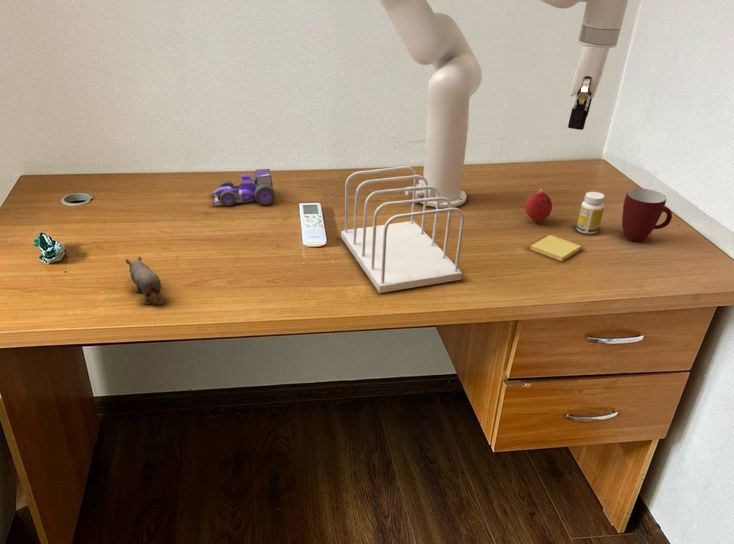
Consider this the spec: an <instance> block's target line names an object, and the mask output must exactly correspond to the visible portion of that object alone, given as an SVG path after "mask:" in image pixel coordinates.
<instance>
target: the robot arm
mask: <svg viewBox="0 0 734 544" xmlns="http://www.w3.org/2000/svg"><path fill="white" fill-rule="evenodd" d="M539 1H540V2H543V3H545V4H546V5H549V6H551V7H554V8H557V9H563V10H564V9H569V8H572V7H574V6H576V5H577V4H579V3H585V8H584V11H583V12H584V13H583V18H582V21H581V26H580V29H579V35H578V39H577V43H578V44H579V45H581V48H580V52H579V55H578V58H577V63H576V67H575V72H574V76H573V80H572V84H571V88H570V92H569V96H570V97H573V96H575V99H574V104H573V107H572V108H571V111H570V115H569V120H568V123H567V128H568V129H572V130H579V131H583V130H584V129H585V126H586V125H585V124H586V120H587V118H588V115H589V112H590V108H591V104H592V101H593V99H594V98H595V95H596V92H597V90H598V88H599V85H600V82H601V80H602V76H603V72H604V70H605V65H606V62H607V59H608V55H609V51H610V49H612V48H616V47H617V45H618V41H619V37H620V34H621V29H622V25H623V22H624V18H625V14H626V10H627V7H628V3H629V0H539ZM379 2H380V4H381V6H382V7H383V9H384V11H385V12H386V14H387V16H388V18H389V19H390V21H391V23H392V25H393V27H394V29H395V31H396V32H397V34H398V35H399V38H400V39H401V41H402V43H403V44H404V46H405V48H406V50H407V52H408V54H409V55H410V57H411V58H412V59H413V60H414V62H416V63H417V64H419V65H421V66H429V65H432V67H433V68H434V70H435V71H434V73H432V75H431V77H430V79H429V81H428V85H427V91H426V103H427V105H426V106H427V119H426V120H427V121H426V133H425V134H426V136H425V148H424V150H425V151H424V159H423V174H422V176H423V177H424V178H426V180H427V182H428V186H433V187H435V188H436V189H437V190H438V191H439V193H440V197H445V198H447V199H448V200H449V201H450V202H451V204H452V208H458V207H459V206H462V205H464V204H465V203H466V201H467V196H468V195H467V193H466V192H465V191H464V190H463V189H462V184H463V176H464V167H465V158H466V150H467V140H468V132H469V131H468V130H469V121H470V119H469V118H470V116H469V115H470V101H471V97H472V96H473V95H474V94H475V93H476V92H477V91H478V89H479V88H480V85H481V84H482V83H481V82H482V78H483V74H482V67H481V66H480V63H479V60H478V58H477V57H476V56H475V54H474V52H473V50H472V48H471V46H470V44H469V42H468V41H467V39H466V37H465V36H464V35H465V34H464V33H463V32H462V30H461V28H460V26H459V24H458V23H457V22H456V21H455V20H454V19H453V18H452V17H451V16H450V15H448V14H446V13H444V12H434V10H433V9H432V7H431V5H430V4H429V2H428V0H379ZM421 186H425V182H424V180H422V179H418V183H416V187H421ZM410 187H413V186H406V187H405V188H410ZM404 194H405V195H406V196H413V191H404ZM424 196H425V190H416V196H415V199H424ZM434 197H437V193H436V192H435V191H434V190H432V189H428V195H427V198H434ZM419 203H420V204H421V205H424V202H419ZM436 203H437V201H429V202H427V205H426V207H431V208H436ZM445 208H449V205H448V203H447V202H446V201H443V200H440V205H439V209H445Z"/></svg>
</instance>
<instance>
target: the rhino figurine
mask: <svg viewBox="0 0 734 544" xmlns="http://www.w3.org/2000/svg"><path fill="white" fill-rule="evenodd" d="M125 263H126V264H127V265H129V273H130V279H131V280H132V282H133V284H134V285H135V286H136V288H135V290H134V293H143V296H144V299H143V300H142V304H144V305H150V304H151V299H150V298H151V292H152V291H153V293H154V295H155V298H156V300H155V304H156V305H158V306H161V305H164V303H165V301H164V299H163V298H162V293H161V290H162V283H161V280H160V278H159V276H158V275H157V274H156V273H155V272H154V271H153V270H152V269H151V268H150V267H149V266H148V265H147V264H145V263H144V262H142V257H141V256H138V257H137V259H135V260H130V259H127V258H125Z"/></svg>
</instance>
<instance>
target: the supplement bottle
mask: <svg viewBox="0 0 734 544" xmlns="http://www.w3.org/2000/svg"><path fill="white" fill-rule="evenodd" d="M605 197H606V196H605V194H603V193H601V192H599V191H588V192H586V193H585V196H584V200H583V201H582V203H581V205H580V210H579V214H578V218H577V222H576V230H577V231H578V232H579V233H581V234H585V235H594V234H598V232H599V229H600V226H601V221H602V217H603V214H604V208H605V204H604V202H605Z"/></svg>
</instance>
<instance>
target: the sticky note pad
mask: <svg viewBox="0 0 734 544" xmlns="http://www.w3.org/2000/svg"><path fill="white" fill-rule="evenodd" d="M581 248H582V245H580V244H577V243H574V242H571V241H568V240H565V239H563V238H560V237H558V236H555V235H552V234H549V235H547V236H545V237H543V238H542V239H540V240H538V241H537V242H534V243H533V244H531V245H530V250H531V251H533V252H535V253H539V254H541V255H544V256H545V257H546V256H547V257H549V258H552V259H554V260H557V261H560V262H563V261H565V260H567V259H568V258H570V257H571V256H574V254H576V253H578V252H580V251H581Z"/></svg>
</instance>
